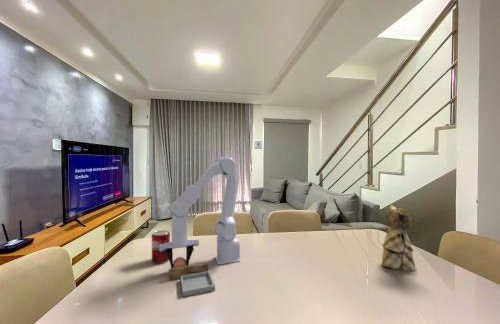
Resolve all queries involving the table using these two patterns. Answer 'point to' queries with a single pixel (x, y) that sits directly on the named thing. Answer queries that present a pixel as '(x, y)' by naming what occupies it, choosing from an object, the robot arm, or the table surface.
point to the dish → (197, 283)
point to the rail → (187, 270)
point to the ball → (179, 262)
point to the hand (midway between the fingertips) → (179, 266)
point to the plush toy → (398, 241)
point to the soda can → (158, 239)
